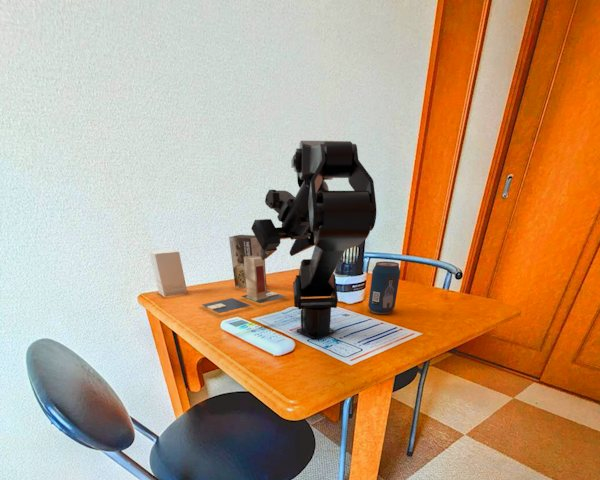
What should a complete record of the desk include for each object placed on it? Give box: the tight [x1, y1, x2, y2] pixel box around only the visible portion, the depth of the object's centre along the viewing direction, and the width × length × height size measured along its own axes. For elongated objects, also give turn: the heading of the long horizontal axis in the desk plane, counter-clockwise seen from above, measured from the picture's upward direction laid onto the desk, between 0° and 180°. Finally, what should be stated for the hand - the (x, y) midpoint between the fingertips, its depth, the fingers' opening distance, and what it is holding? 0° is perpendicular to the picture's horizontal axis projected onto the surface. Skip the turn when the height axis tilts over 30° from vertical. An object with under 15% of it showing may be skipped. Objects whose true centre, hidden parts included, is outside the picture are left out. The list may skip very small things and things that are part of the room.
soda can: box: [367, 261, 401, 315], centre depth 81 cm, size 7×7×12 cm
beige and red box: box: [244, 256, 267, 300], centre depth 89 cm, size 5×4×11 cm
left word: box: [201, 297, 252, 314], centre depth 87 cm, size 10×10×1 cm
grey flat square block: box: [241, 290, 287, 304], centre depth 94 cm, size 10×10×1 cm
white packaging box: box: [148, 248, 188, 298], centre depth 97 cm, size 7×7×13 cm
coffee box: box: [228, 234, 267, 290], centre depth 100 cm, size 9×6×16 cm
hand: (276, 256), depth 79 cm, fingers open, 9 cm apart
